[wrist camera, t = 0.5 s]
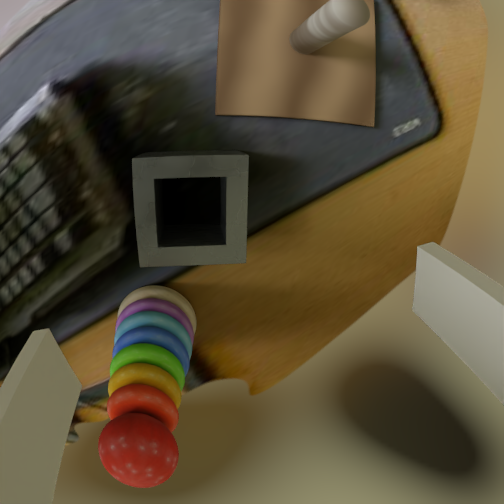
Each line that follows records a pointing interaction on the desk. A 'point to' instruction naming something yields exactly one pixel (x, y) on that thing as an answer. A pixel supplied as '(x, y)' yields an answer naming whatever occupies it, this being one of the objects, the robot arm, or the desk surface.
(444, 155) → the desk surface
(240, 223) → the collar
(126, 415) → the stacking toy
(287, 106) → the post base
